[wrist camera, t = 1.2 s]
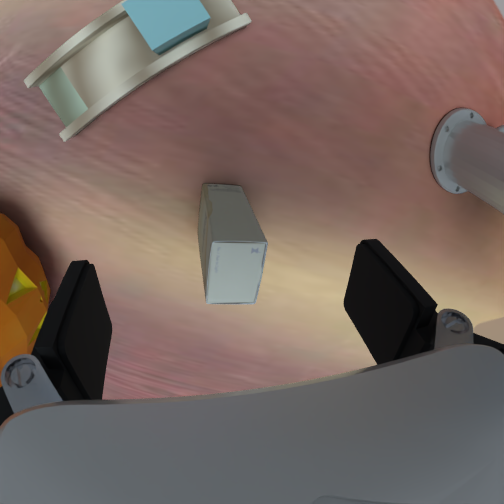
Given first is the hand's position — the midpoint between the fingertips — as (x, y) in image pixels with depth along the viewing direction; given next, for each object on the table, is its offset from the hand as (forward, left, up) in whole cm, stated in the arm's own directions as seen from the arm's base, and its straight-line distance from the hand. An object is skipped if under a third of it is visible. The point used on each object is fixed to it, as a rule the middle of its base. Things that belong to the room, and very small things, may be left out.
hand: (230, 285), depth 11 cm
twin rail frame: (0, -12, -24) cm, 27 cm away
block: (-4, -12, -22) cm, 26 cm away
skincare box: (+2, +8, -24) cm, 25 cm away
